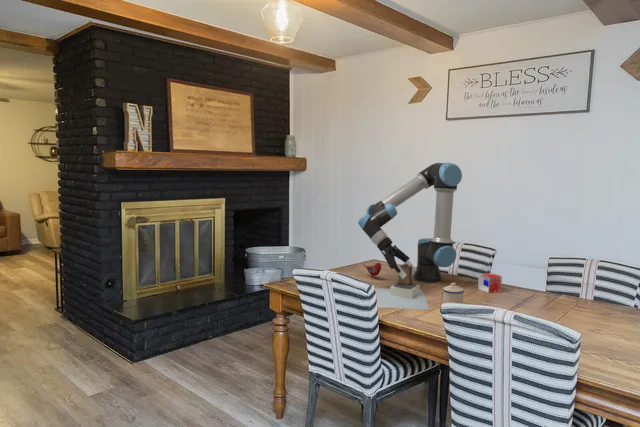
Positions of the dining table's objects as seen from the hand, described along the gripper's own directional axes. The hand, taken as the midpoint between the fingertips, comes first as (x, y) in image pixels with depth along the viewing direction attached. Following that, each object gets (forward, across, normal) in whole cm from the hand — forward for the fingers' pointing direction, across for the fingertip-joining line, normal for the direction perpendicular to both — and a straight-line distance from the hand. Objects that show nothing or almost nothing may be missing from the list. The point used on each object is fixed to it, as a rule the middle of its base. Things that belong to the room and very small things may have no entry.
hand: (410, 274), depth 227 cm
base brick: (+6, 0, -9) cm, 11 cm away
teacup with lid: (+24, +7, +8) cm, 26 cm away
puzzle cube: (+30, -33, +14) cm, 47 cm away
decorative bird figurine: (-14, -24, -30) cm, 41 cm away
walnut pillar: (+3, 0, -6) cm, 7 cm away
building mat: (+6, +8, -9) cm, 13 cm away
